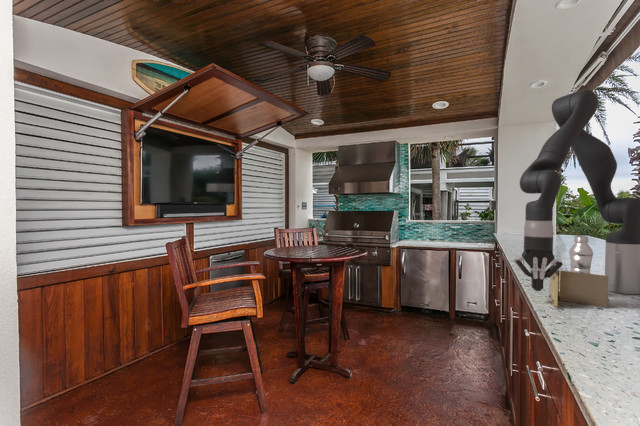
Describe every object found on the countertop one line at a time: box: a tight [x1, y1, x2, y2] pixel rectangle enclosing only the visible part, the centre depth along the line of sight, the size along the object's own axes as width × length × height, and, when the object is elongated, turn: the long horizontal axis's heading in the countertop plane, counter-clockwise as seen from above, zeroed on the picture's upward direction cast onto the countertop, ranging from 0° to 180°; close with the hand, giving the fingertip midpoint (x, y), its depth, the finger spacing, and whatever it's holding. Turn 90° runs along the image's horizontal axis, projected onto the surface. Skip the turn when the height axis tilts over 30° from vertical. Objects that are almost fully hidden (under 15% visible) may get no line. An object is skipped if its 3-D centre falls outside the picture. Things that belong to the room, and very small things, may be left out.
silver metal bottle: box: [568, 235, 594, 274], centre depth 111 cm, size 6×7×20 cm
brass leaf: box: [548, 273, 560, 307], centre depth 101 cm, size 12×3×9 cm, turn 152°
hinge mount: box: [555, 269, 610, 309], centre depth 104 cm, size 8×14×10 cm, turn 46°
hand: (537, 290), depth 101 cm, fingers closed
